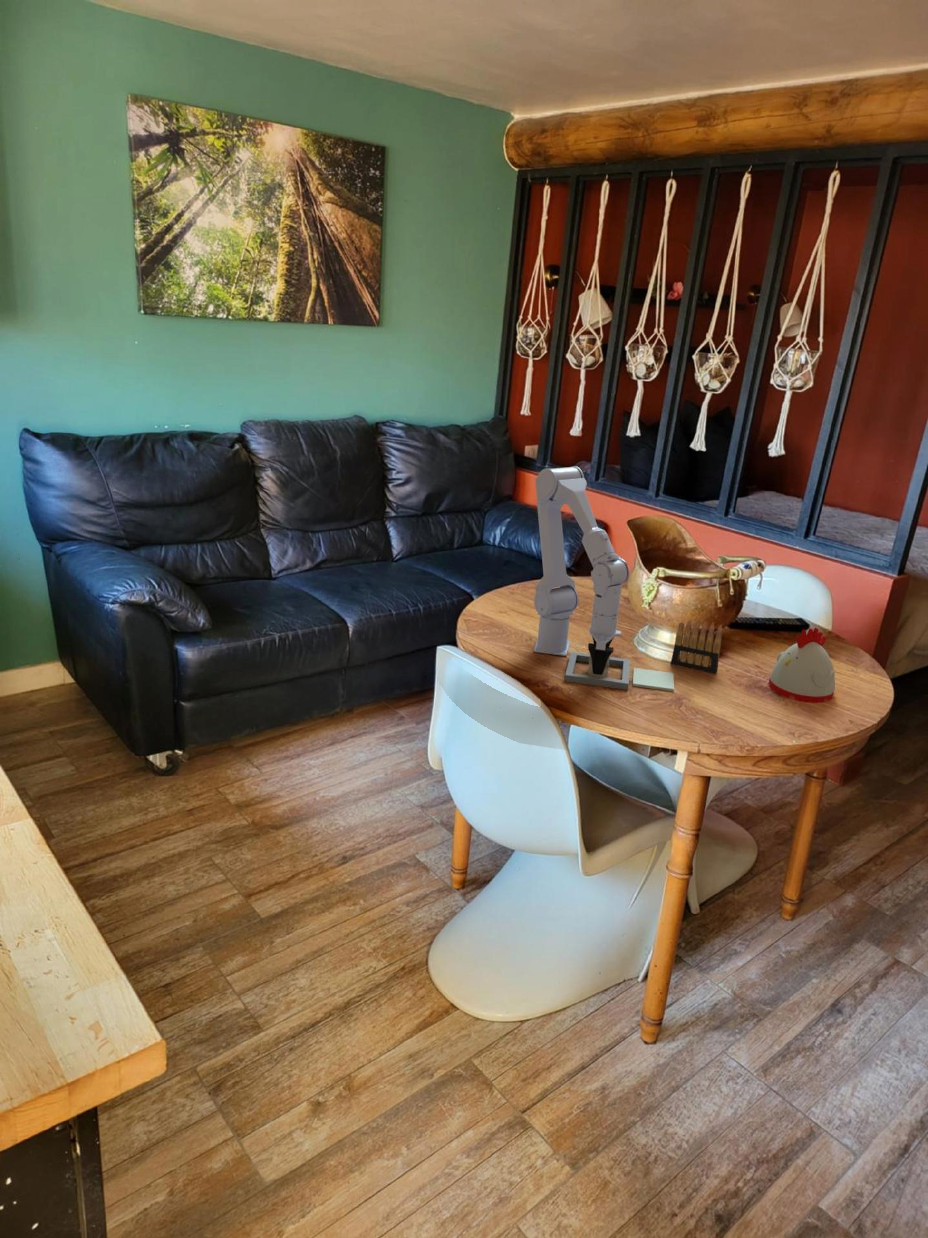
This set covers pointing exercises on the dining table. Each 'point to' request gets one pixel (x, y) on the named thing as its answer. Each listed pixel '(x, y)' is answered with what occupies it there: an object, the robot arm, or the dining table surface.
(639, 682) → the green pad
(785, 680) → the kitchen timer
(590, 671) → the maple block
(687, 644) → the ammunition clip
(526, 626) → the dining table surface
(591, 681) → the frame
